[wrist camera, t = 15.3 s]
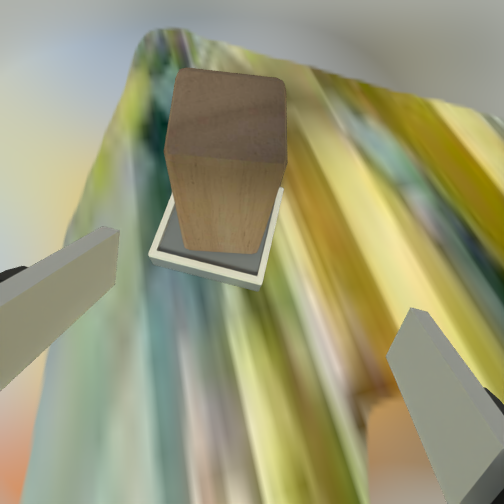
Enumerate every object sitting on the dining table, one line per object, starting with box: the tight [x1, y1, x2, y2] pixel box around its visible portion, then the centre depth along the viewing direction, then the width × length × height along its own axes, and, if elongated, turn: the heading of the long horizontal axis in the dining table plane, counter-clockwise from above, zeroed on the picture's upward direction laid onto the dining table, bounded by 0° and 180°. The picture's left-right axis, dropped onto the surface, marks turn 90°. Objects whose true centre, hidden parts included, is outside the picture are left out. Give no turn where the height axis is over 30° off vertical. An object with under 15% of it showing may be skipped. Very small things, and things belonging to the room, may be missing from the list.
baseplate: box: [148, 187, 284, 291], centre depth 46 cm, size 15×15×4 cm
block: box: [164, 68, 288, 254], centre depth 36 cm, size 10×10×20 cm
